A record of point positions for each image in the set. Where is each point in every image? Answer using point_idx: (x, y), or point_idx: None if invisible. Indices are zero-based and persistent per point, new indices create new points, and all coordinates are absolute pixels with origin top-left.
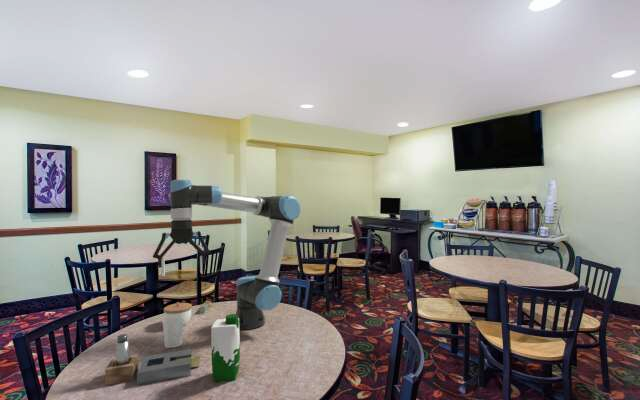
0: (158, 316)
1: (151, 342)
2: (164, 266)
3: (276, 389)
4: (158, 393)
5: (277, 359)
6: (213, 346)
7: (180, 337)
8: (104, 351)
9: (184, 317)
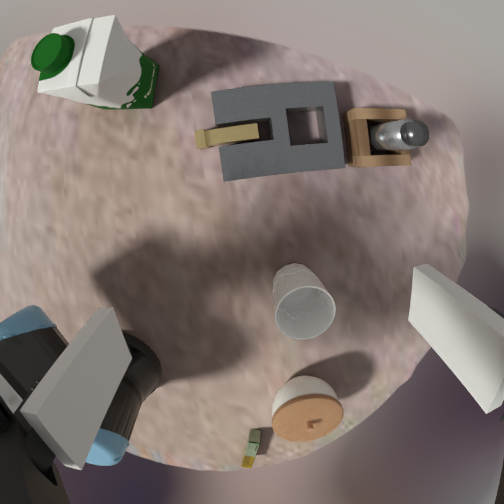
0: (348, 429)
1: (349, 307)
2: (449, 349)
3: None
4: (269, 45)
5: (42, 146)
6: (132, 43)
7: (276, 282)
8: None
9: (286, 390)
